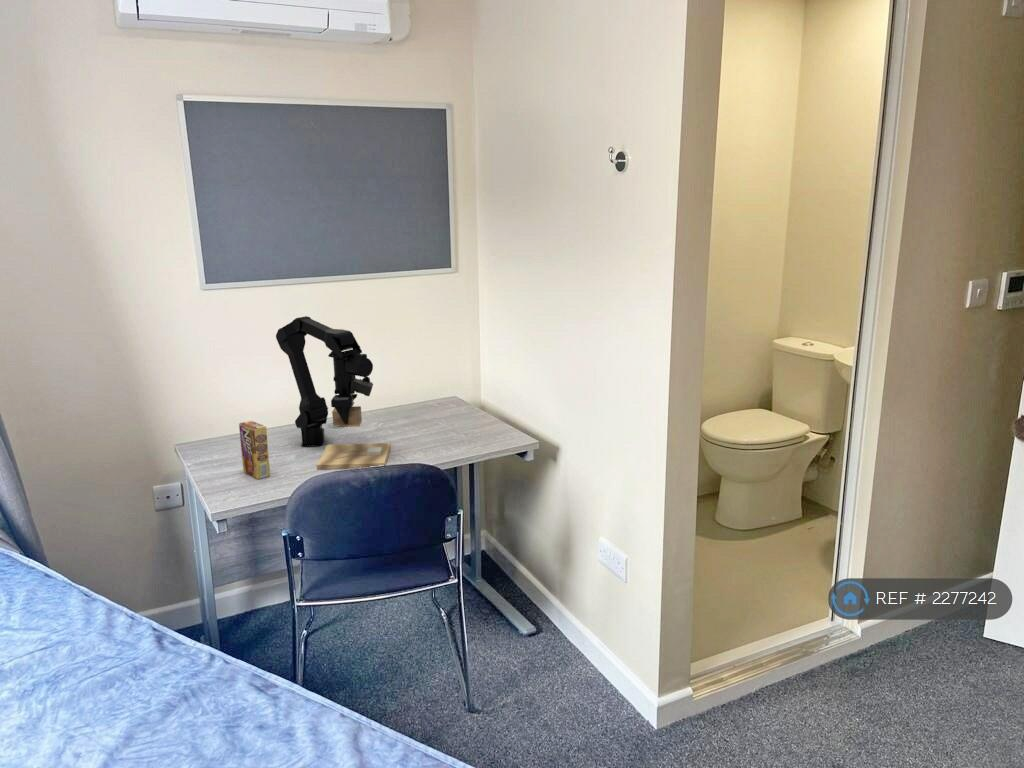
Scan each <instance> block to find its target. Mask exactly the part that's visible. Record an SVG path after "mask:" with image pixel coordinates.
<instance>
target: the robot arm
mask: <svg viewBox="0 0 1024 768" xmlns="http://www.w3.org/2000/svg"><path fill="white" fill-rule="evenodd" d="M307 335H309V336H311V337H313V338H315V339H318V340H320V341H322V342H323V343H324V344H325V347H326V348H327V349H329V350H330V351H331V352H330V353H329V354H328V357H329V358H332V361H333V372H334V373H333V374H334V375H333V382H334V395H333V397H332V398H331V399H330V405H331V407H332V408H335V409H336V410H337V412H338V414H339V415H340V417H341V419H342V421H343V422H344V424H348V419H349V411H350V408H351V407H353V406H354V404H355V402H354V400H355V399H356V398H357V397H358V394H361V395H364V397H365V396H366V397H370V395H371V393H372V391H373V390H372V389H373V386H374V383H373V382H372V381H371V378H370V375H371V374H372V372H373V369H374V365H373V362H372V361H371V359H370V358H368V354H367V353H363V351H362V349H361V346H360V345H359V343H358V341H357V339H356V337H355V335H354V333H353V332H352V331H350V330H347V329H344V328H342V329H341V328H338V329H337V328H333V327H330V326H328V325H326V324H324V323H322V322H319V321H317V320H314V319H312V318H311V317H310V316H306V315H305V316H300V317H296V318H294V319H293V320H292V321H291V322H289V323H287V324H286V325H283V327H280V328H278V330H277V332H276V334H275V339H276V341H277V344H278V346H279V348H280V350H282V352H283V353H285V355H287V357H288V360H289V364H290V366H291V370H292V373H293V376H294V379H295V382H296V386H297V389H298V392H299V396H300V401H299V402H300V403H299V405H298V410H299V415H298V416H297V418H296V419H295V420H294V423H295V426H296V428H297V429H300V431H301V444H300V446H301V447H321V446H322V445H323V443H324V442H325V441H326V435H325V428H324V427H323V425H324V424H327V420H328V415H329V407H328V405H327V402H326V399H325V397H321V396H320V395H318V393H317V392H316V388H315V384H314V382H313V379H312V375H311V372H310V369H309V365H308V362H307V359H306V356H305V352H304V350H305V346H306V336H307ZM356 376H357V377H361V378H362V379H361V378H356Z"/></svg>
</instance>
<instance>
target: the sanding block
mask: <svg viewBox="0 0 1024 768" xmlns="http://www.w3.org/2000/svg"><path fill="white" fill-rule="evenodd" d="M331 415H332V426H333V428H348V427H349V428H352V427H353V428H355V427H356V428H357V427H361V424H362V422H363V420H362V406H361V405H359V406H358V405H357V406H354V405H353V406H352V407H351V408H350V411H349V419H348V424H344V422H343V421H342V419H341V417H340V415H339V414H338V412H337V410H336V409H335V407H333V410H332V411H331Z"/></svg>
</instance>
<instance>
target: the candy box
mask: <svg viewBox="0 0 1024 768" xmlns="http://www.w3.org/2000/svg"><path fill="white" fill-rule="evenodd" d="M238 427H239V429H238V430H239V439H240V447H241V448H240V449H241V450H240V451H241V460H242V468H243V469H242V470H243V473H245V474H246V475H248V476H251V477H253V478H255V479H257V480H260V479H263V478H267V477H270V476H271V471H270V457H269V444H268V434H267V433H268V432H267V426H266V425H263V424H260V423H257V422H256V421H253V420H247V421H246V420H245V421H243V422H240V423H238Z"/></svg>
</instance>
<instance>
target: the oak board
mask: <svg viewBox="0 0 1024 768" xmlns="http://www.w3.org/2000/svg"><path fill="white" fill-rule="evenodd" d="M369 447H382V451H381V454H380V455H367V450H368V448H369ZM390 451H391V443H390V442H387V443H386V442H385V443H384V442H383V443H381V442H379V443H376V442H375V443H349V444H347V443H345V444H344V443H343V444H342V443H341V444H340V443H338V444H327V446H326V447H325V449H324V451H323V453H322V454H321V455H320V458H319V460H318V462H317V464H316V470H319V471H320V470H321V471H322V470H324V471H325V470H350V469H349V468H360V467H370V466H379V465H385V466H386V464H387V461H388V459H389V454H390Z"/></svg>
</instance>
